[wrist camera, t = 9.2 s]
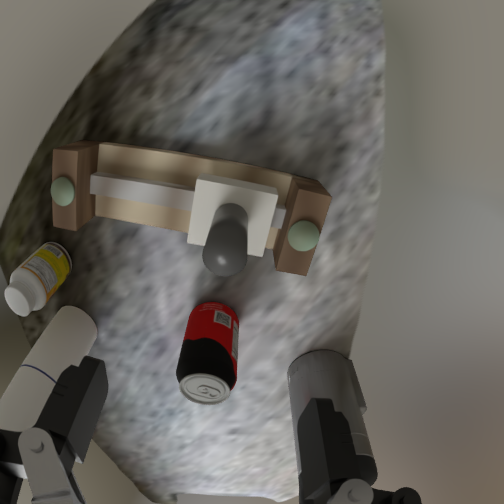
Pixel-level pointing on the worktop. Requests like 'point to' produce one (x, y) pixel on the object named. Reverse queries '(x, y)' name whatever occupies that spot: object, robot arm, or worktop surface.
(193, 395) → the beverage can
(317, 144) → the worktop surface
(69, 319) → the cylindrical container
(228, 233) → the carriage
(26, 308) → the supplement bottle
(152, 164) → the rail
